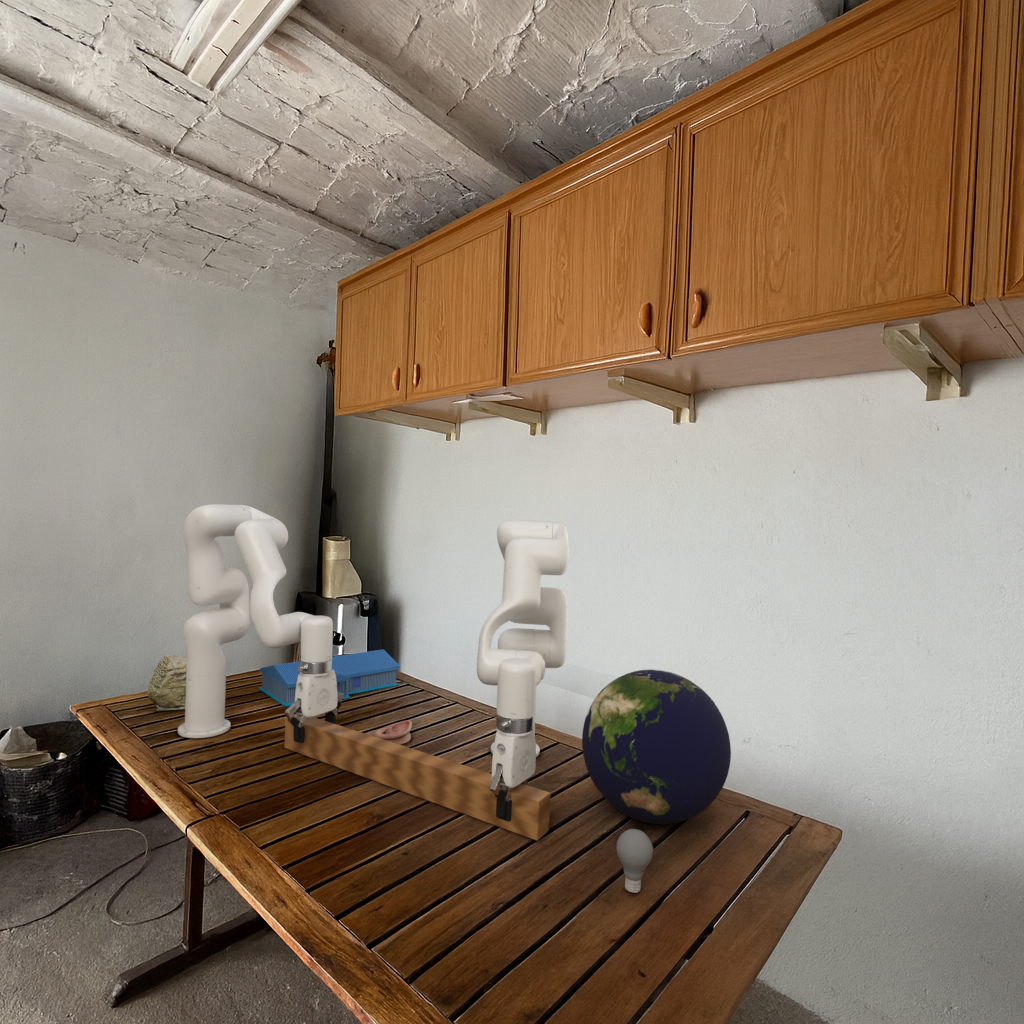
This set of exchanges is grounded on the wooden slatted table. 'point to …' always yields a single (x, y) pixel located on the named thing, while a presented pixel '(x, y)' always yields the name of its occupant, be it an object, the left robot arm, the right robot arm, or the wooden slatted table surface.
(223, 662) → the left robot arm
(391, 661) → the model building
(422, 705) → the wooden slatted table surface
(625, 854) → the light bulb
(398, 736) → the anatomical model
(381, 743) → the bar
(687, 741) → the globe
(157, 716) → the wooden slatted table surface
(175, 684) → the fossil
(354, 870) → the wooden slatted table surface
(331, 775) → the wooden slatted table surface
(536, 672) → the right robot arm
